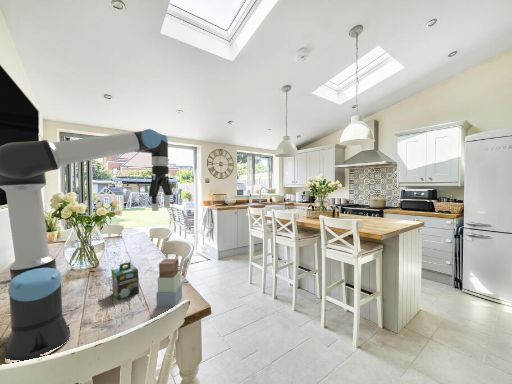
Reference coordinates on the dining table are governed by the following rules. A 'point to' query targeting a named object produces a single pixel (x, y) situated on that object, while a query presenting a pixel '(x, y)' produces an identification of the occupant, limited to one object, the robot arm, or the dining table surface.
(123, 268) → the chalk box
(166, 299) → the slate block
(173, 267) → the walnut block
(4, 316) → the dining table surface
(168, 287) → the sage block
